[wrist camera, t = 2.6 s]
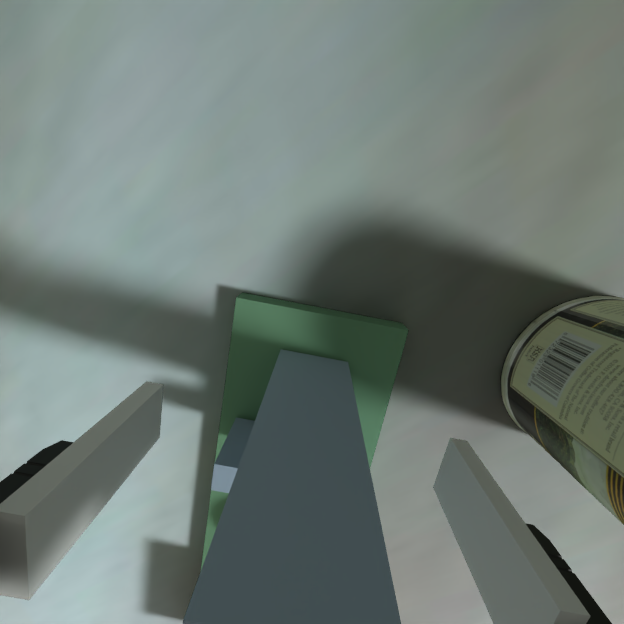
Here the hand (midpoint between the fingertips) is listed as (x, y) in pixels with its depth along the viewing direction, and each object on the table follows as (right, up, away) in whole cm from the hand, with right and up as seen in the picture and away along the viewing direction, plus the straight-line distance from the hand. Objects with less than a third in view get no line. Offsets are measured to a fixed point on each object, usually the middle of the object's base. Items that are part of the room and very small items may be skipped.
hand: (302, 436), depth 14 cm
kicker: (0, 0, +5) cm, 5 cm away
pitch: (-1, -4, +8) cm, 9 cm away
